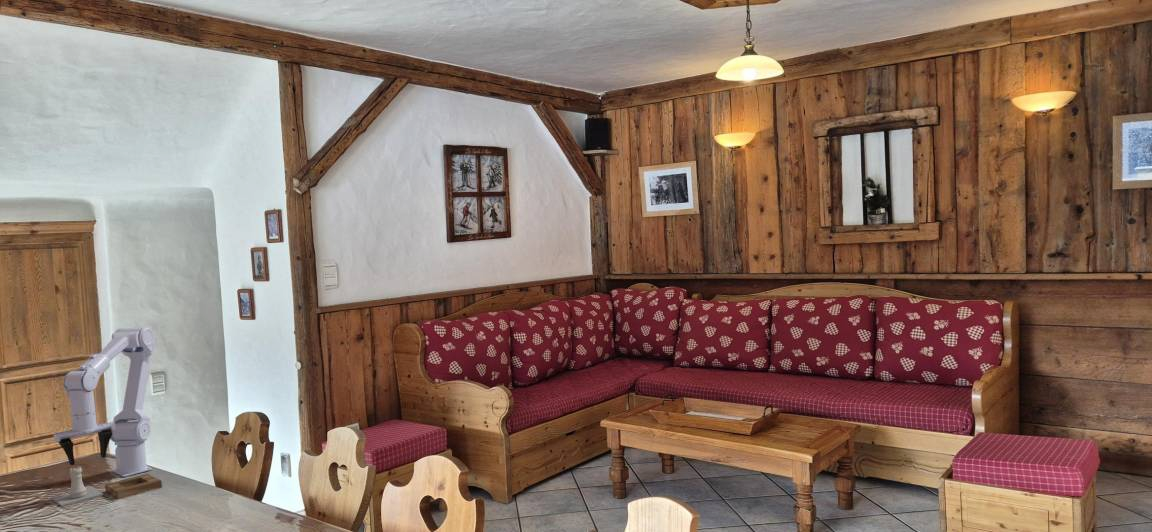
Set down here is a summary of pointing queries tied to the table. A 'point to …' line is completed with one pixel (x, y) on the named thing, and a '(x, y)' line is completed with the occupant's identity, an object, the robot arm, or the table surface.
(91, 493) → the slate mat
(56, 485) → the table surface
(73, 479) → the rook chess piece
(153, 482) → the square wooden frame
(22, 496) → the table surface
